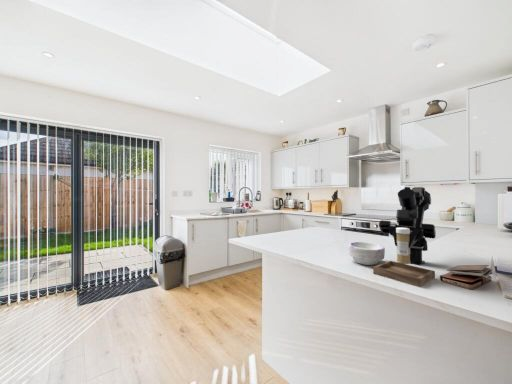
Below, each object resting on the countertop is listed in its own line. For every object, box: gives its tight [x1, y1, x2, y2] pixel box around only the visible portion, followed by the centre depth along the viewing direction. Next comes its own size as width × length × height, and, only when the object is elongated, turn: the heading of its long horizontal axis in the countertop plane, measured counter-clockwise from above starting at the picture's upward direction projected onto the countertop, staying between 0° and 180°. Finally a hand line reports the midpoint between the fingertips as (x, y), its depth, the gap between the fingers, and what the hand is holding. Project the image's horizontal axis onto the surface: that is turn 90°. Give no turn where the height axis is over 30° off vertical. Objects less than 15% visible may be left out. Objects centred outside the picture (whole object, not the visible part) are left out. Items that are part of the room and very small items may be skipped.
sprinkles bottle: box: [396, 227, 411, 265], centre depth 91 cm, size 5×5×14 cm
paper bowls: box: [347, 241, 386, 266], centre depth 108 cm, size 15×15×8 cm
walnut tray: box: [372, 260, 436, 288], centre depth 91 cm, size 14×16×3 cm
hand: (402, 246), depth 90 cm, fingers closed on sprinkles bottle, 4 cm apart
